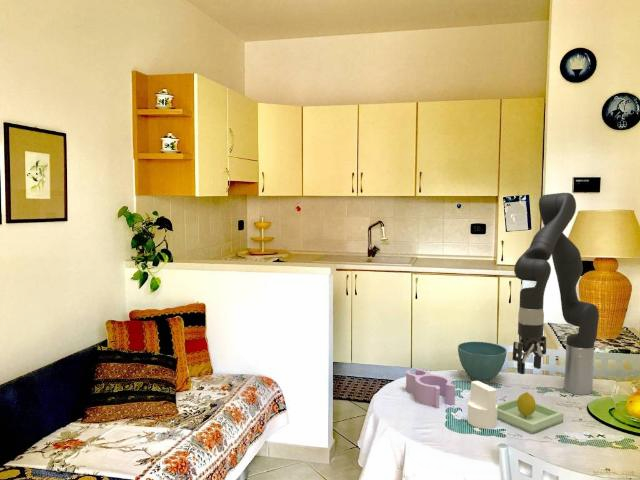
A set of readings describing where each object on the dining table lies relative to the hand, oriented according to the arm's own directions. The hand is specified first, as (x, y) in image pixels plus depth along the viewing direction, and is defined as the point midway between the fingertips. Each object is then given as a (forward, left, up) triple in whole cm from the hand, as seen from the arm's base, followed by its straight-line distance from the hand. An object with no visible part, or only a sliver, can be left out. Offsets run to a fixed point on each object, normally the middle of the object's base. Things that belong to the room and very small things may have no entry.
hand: (529, 370), depth 173 cm
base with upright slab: (+14, -6, -16) cm, 22 cm away
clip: (+13, -31, -17) cm, 38 cm away
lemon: (0, 0, -15) cm, 15 cm away
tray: (0, 0, -16) cm, 16 cm away
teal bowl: (-18, -33, -16) cm, 41 cm away
